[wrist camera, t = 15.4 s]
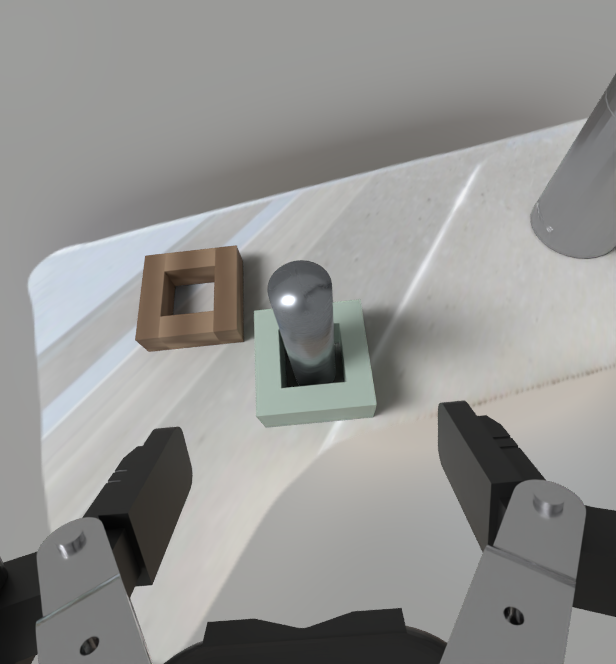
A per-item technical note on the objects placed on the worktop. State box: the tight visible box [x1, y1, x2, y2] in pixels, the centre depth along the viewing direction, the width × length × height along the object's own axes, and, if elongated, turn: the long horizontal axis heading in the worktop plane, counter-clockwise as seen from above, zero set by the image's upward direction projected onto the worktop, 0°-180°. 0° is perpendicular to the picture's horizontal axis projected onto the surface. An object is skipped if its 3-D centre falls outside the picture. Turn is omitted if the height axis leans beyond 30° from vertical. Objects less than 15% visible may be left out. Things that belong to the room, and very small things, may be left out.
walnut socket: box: [135, 245, 244, 352], centre depth 42 cm, size 10×10×3 cm
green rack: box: [254, 299, 377, 427], centre depth 37 cm, size 10×10×4 cm
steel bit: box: [268, 260, 336, 386], centre depth 32 cm, size 4×4×16 cm
